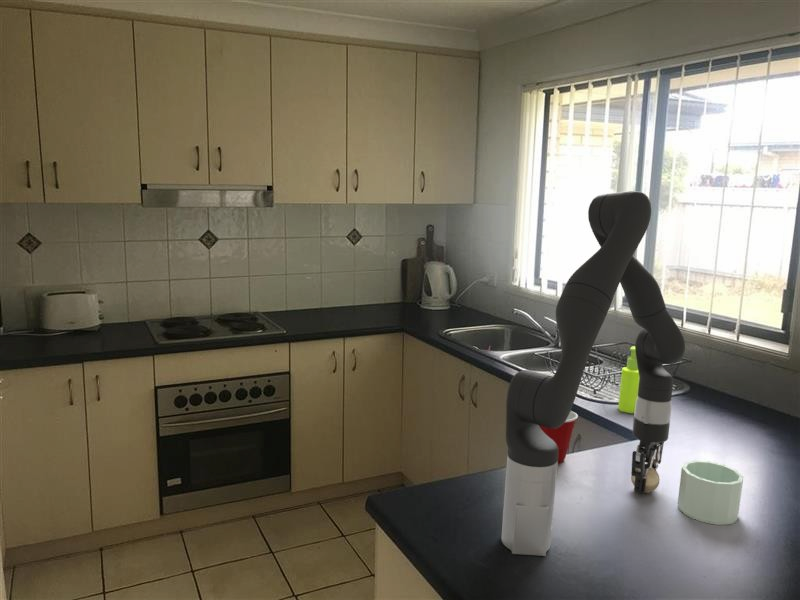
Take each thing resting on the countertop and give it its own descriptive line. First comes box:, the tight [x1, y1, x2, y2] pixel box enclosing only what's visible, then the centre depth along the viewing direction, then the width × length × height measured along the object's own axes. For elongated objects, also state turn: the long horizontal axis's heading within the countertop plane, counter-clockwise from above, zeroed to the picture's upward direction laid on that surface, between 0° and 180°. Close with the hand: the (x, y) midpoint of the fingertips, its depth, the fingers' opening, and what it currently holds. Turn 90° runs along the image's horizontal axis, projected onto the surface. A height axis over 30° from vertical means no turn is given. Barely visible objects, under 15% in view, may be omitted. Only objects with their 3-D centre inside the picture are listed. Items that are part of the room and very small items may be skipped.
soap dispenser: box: [617, 345, 640, 414], centre depth 207 cm, size 6×7×20 cm
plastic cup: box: [539, 410, 579, 464], centre depth 167 cm, size 11×11×12 cm
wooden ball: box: [631, 467, 660, 493], centre depth 151 cm, size 6×6×6 cm
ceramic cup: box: [677, 460, 745, 526], centre depth 142 cm, size 12×12×9 cm
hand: (644, 487), depth 151 cm, fingers closed on wooden ball, 6 cm apart
